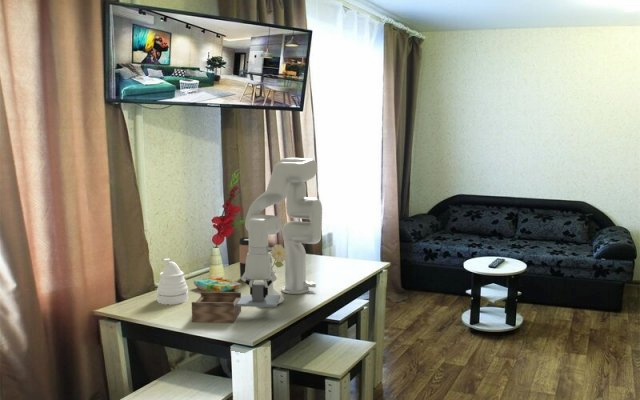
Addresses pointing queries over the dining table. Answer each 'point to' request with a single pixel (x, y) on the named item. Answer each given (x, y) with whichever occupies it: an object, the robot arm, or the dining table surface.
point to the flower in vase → (279, 255)
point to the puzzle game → (216, 284)
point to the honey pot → (172, 285)
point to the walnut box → (216, 307)
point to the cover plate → (259, 304)
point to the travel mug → (243, 254)
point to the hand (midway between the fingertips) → (259, 296)
